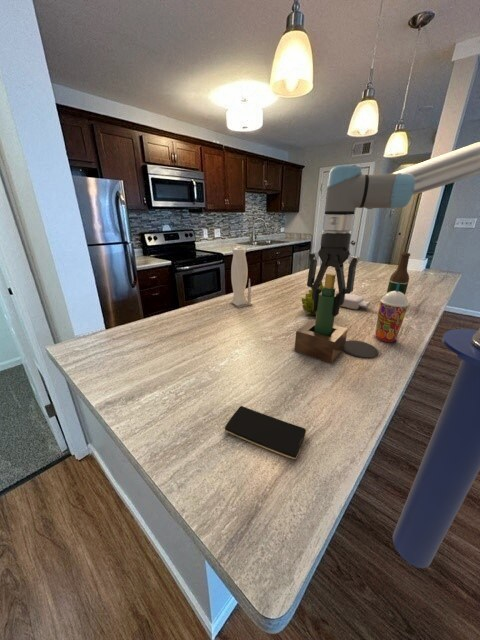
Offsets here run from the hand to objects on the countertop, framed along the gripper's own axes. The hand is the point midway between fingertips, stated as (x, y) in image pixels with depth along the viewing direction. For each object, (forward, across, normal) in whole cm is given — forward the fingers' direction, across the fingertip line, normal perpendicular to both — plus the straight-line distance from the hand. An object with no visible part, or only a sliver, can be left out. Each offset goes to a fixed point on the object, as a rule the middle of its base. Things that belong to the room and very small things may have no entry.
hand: (325, 312), depth 79 cm
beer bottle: (+13, +10, +67) cm, 69 cm away
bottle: (+8, 0, 0) cm, 8 cm away
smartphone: (+13, +5, -40) cm, 42 cm away
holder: (+13, 0, 0) cm, 13 cm away
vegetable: (+13, -14, +30) cm, 36 cm away
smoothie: (+13, +15, +22) cm, 30 cm away
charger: (+13, -3, +49) cm, 51 cm away
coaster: (+13, +10, +8) cm, 18 cm away
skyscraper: (+13, -47, +18) cm, 52 cm away
